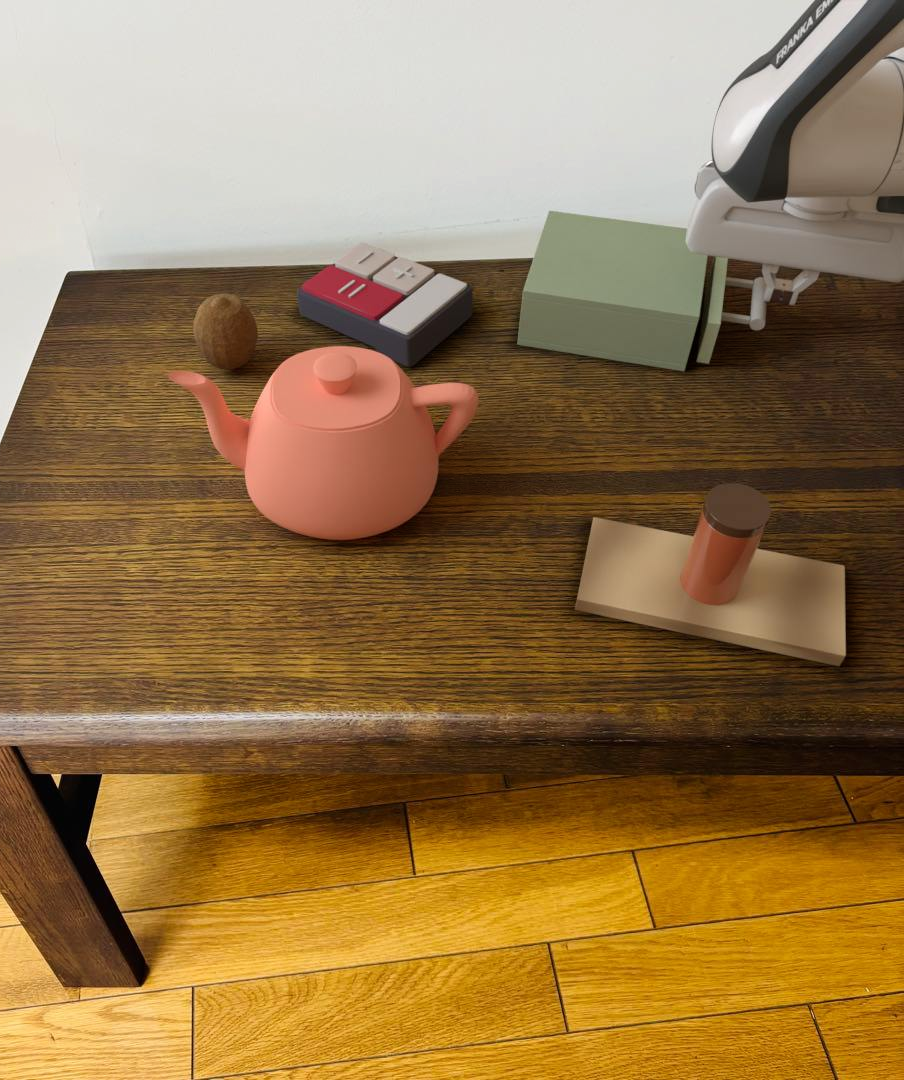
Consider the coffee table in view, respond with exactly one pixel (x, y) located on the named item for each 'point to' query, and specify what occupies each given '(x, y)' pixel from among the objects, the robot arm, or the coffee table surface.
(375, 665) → the coffee table surface
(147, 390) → the coffee table surface
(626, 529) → the board
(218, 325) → the fruit
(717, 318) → the drawer
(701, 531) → the spice jar
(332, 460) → the teapot
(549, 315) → the cabinet
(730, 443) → the coffee table surface
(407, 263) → the calculator
